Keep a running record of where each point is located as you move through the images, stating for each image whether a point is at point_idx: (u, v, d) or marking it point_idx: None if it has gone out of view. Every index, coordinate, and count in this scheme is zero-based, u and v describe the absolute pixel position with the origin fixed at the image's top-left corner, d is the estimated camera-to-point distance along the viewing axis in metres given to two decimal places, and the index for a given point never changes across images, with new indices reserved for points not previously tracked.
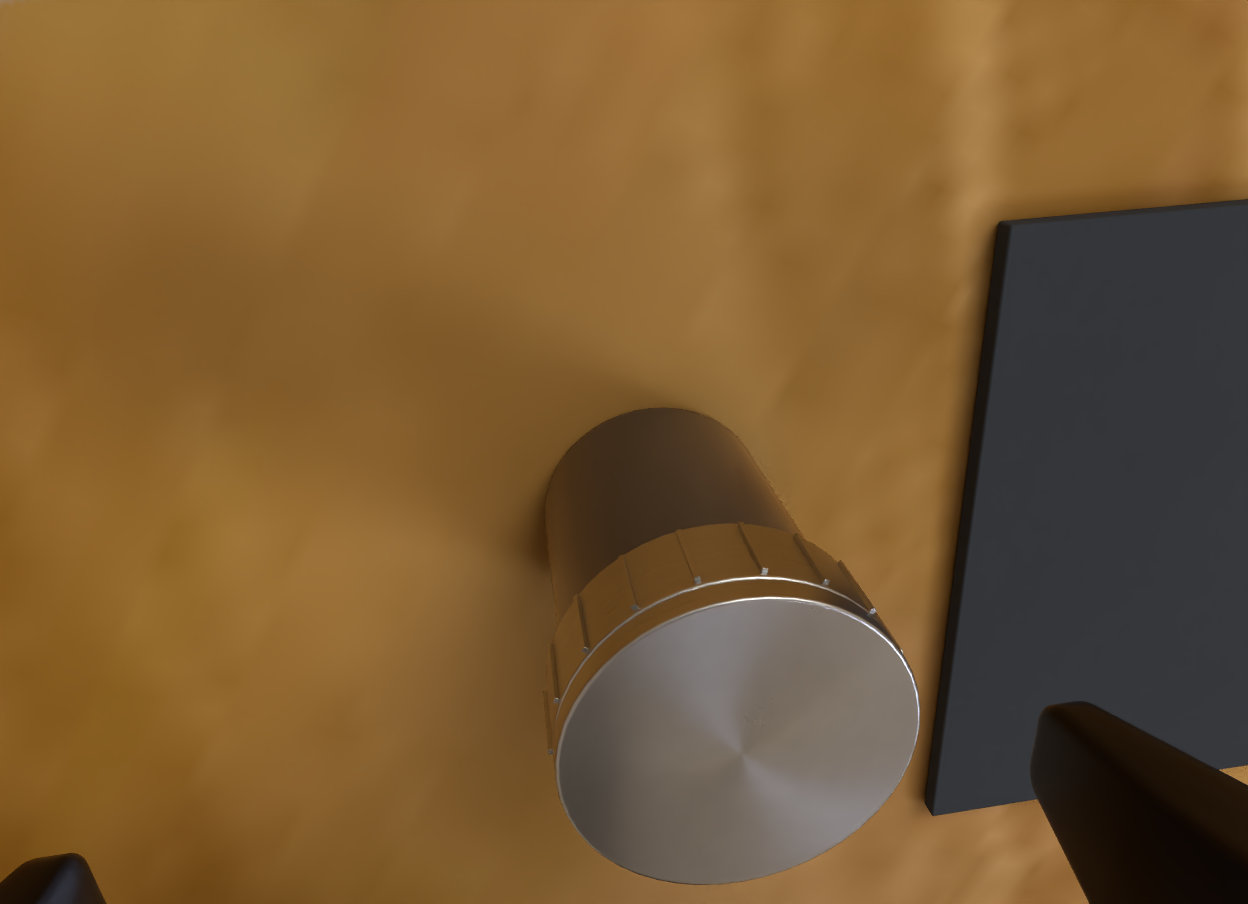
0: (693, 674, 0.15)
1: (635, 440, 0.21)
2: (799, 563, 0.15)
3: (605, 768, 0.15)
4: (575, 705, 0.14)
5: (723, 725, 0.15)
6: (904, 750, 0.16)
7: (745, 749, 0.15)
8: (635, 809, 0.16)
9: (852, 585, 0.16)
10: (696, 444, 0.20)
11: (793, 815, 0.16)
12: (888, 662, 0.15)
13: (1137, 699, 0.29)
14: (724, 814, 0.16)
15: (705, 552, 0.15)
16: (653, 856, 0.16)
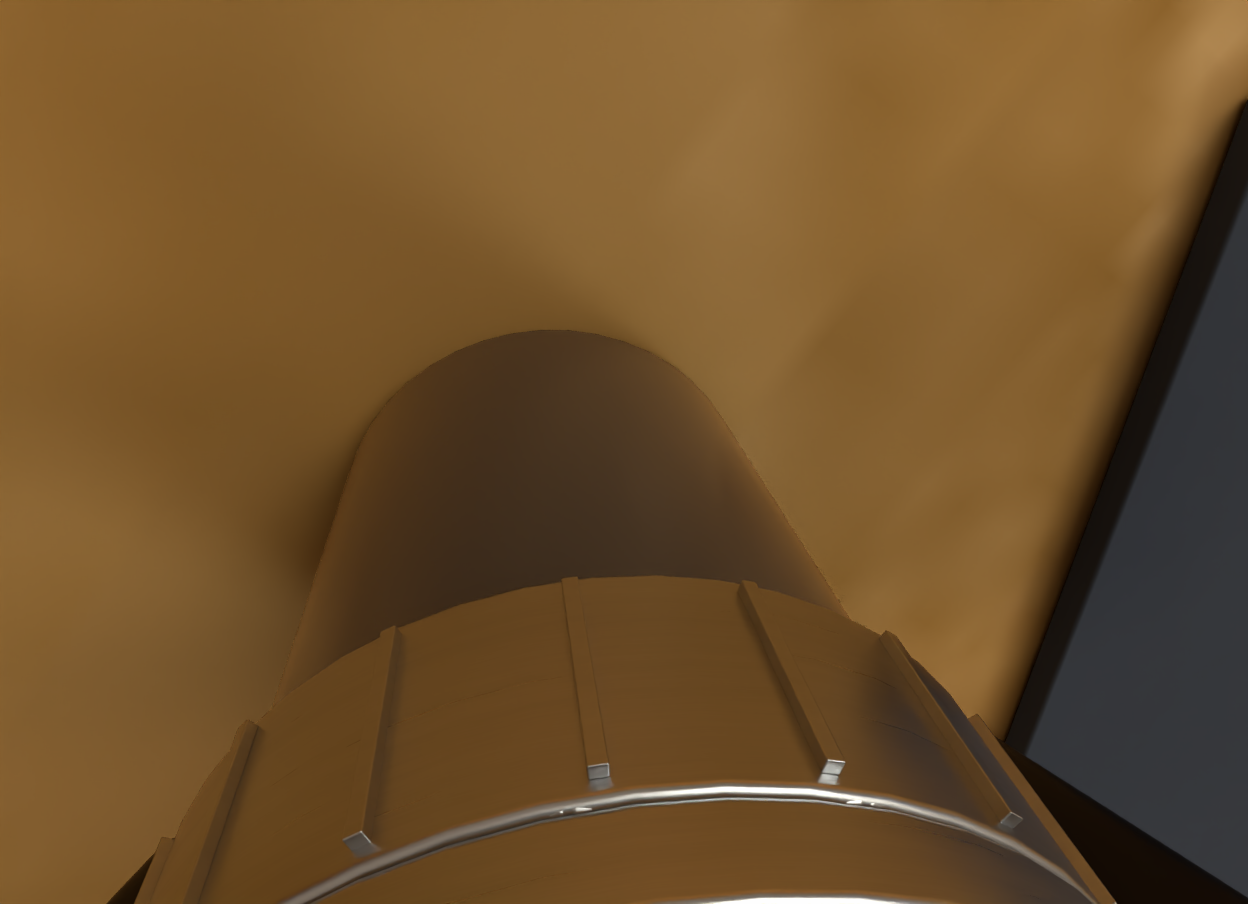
0: None
1: (526, 374, 0.10)
2: (919, 738, 0.05)
3: None
4: None
5: None
6: None
7: None
8: None
9: (1027, 802, 0.06)
10: (649, 399, 0.10)
11: None
12: None
13: None
14: None
15: (639, 665, 0.05)
16: None
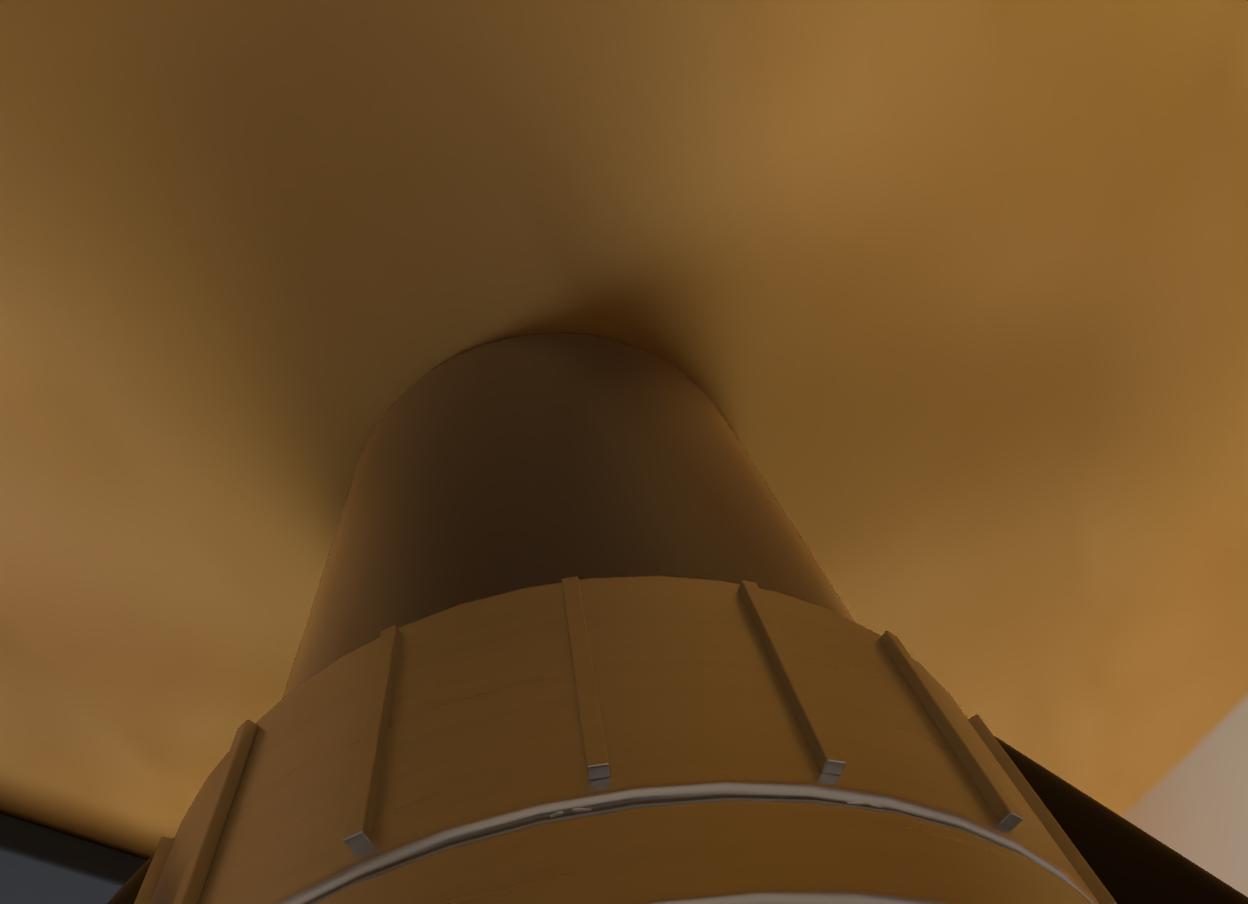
0: None
1: None
2: (919, 738, 0.05)
3: None
4: None
5: None
6: None
7: None
8: None
9: (1027, 802, 0.06)
10: None
11: None
12: None
13: None
14: None
15: (639, 665, 0.05)
16: None
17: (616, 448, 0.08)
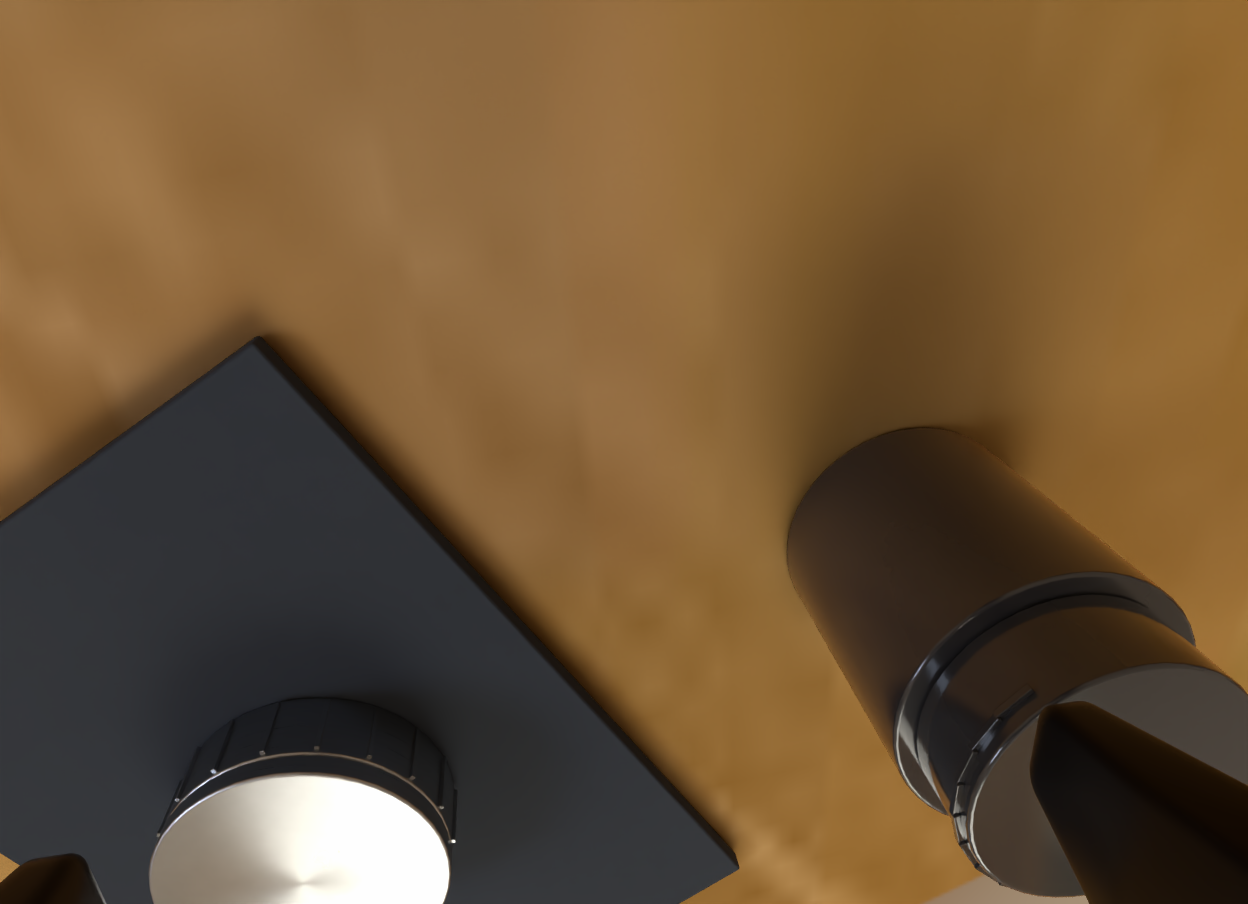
0: (284, 816, 0.19)
1: None
2: (402, 756, 0.20)
3: (192, 863, 0.19)
4: (185, 812, 0.19)
5: (296, 858, 0.20)
6: None
7: (307, 880, 0.20)
8: (206, 900, 0.20)
9: (440, 780, 0.21)
10: None
11: None
12: (433, 849, 0.20)
13: (148, 644, 0.20)
14: None
15: (336, 725, 0.20)
16: None
17: (1066, 515, 0.18)
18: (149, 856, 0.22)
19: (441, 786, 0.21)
